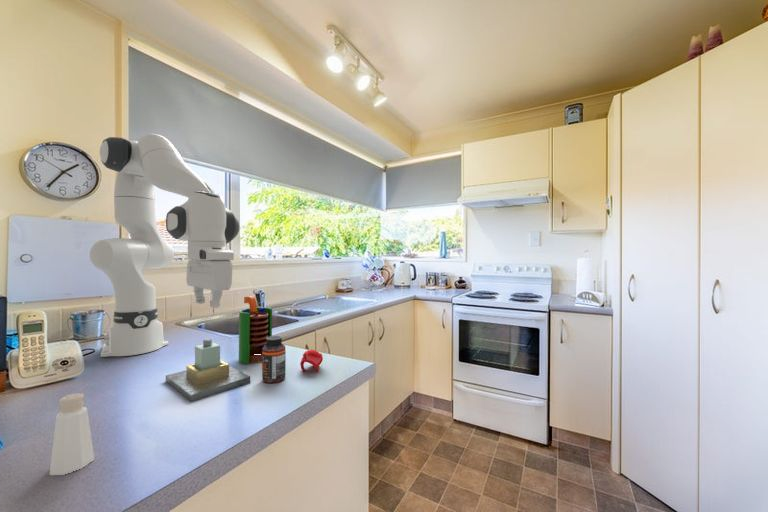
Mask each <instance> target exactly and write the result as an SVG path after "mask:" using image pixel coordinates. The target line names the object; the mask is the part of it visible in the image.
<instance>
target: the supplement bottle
mask: <svg viewBox="0 0 768 512" xmlns="http://www.w3.org/2000/svg"><path fill="white" fill-rule="evenodd" d="M286 352H287V350H286V345H285V344H284V343H283V339H282V336H280V335H272V336H270V337H267V338H266V345H265V346H264V347H263V349H262V363H261V379H262V382H264V383H267V384H273V383H279V382H281V381H283V380H285V378H286V354H287V353H286Z"/></svg>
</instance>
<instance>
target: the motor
mask: <svg viewBox="0 0 768 512" xmlns="http://www.w3.org/2000/svg"><path fill="white" fill-rule="evenodd" d="M256 299H257V298H256V297H255V296H253V295H250V296H244V297H243V300H244V301H243V303H244V304H248V305H249V307H248V308H244V309H240V310H239V312H238V313H239V314H238V319H239V320H238V362H239V363H241V364H243V365H249V364H250V363H249V362H256V363H259V362H258V361H262V349H263V347H264V346H265V345H266V338H267V337H270V336H273V308H271V307H258V306H257V304H258V303H257V300H256ZM254 354H261V355H254Z"/></svg>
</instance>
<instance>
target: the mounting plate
mask: <svg viewBox="0 0 768 512" xmlns="http://www.w3.org/2000/svg"><path fill="white" fill-rule="evenodd" d="M185 367H186V369H185V370H182V371H178V372H174V373H170V374H168V375H167V374H166V375H165V383H167V384H168V385H170V386H171V387H172V388H173V389H174V390H176V391H177V392H178V393H180V395H182V396H184V398H186V399H187V400H188V401H190V403H191V402H194V401H197V400H201V399H204V398H207V397H210V396H213V395H216V394H219V393H222V392H225V391H228V390H230V389H234V388H237V386H238V387H241V386H242V385H243V386H244V385H246V384H249V383H251V376H250V375H248V374H246V373H244V372H242V371H240V370H238V369H236V368H234V367H232V366H231V365H230V364H229V363H228V362H226V361H224V360H222V359H220V366H216V367H212V368H208V369H205V370H201V371H199V370H198V369H196V368H195V362H194V363H190V364H187V365H186V366H185Z"/></svg>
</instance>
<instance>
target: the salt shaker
mask: <svg viewBox="0 0 768 512" xmlns="http://www.w3.org/2000/svg"><path fill="white" fill-rule="evenodd" d="M84 398H85V394H84V393H79V392H78V393H71V394H67V395H65V396H63V397H61V398H60V399H59V400H58V402H59V409H60V412H59V413H57V414H56V417H55V418H56V419H55V423H54V432H53V441H52V448H51V454H50V455H51V456H50V465H49V475H50V476H65V474H66V475H68V473H69V474H71V473H73V471H74V472H76V470H77V471H80V470H82V469H84V468H85V467H87V466H88V465H89V464H90V462H91V463H92V462H93V461H94V460H95V453H94V448H93V447H94V446H93V440H92V433H91V432H92V431H91V426H90V420H89V419H90V418H89V414H88V413H89V412H88V407H86V406H84V403H85V402H84V401H85V399H84ZM83 467H84V468H83ZM79 469H80V470H79Z"/></svg>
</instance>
